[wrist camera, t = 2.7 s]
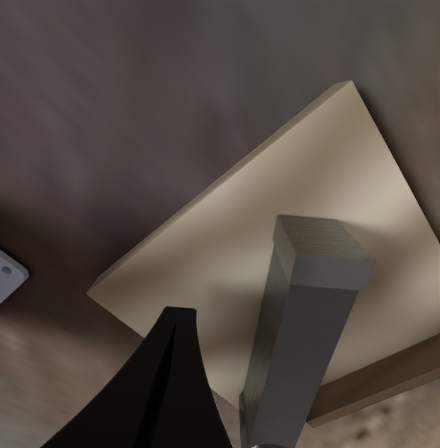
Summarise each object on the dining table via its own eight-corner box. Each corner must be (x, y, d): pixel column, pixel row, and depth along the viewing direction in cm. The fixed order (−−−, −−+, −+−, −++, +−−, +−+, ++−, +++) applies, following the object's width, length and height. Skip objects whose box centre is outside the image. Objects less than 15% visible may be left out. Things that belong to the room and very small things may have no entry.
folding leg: (277, 411, 17) (288, 474, 14) (236, 408, 17) (238, 471, 14) (338, 220, 11) (380, 261, 8) (274, 214, 11) (293, 254, 8)
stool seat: (98, 276, 14) (69, 315, 12) (334, 83, 10) (375, 75, 7) (255, 401, 19) (260, 450, 16) (460, 305, 15) (512, 350, 12)
